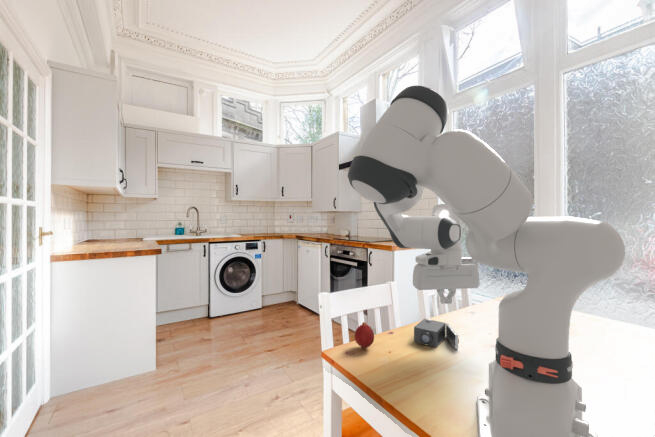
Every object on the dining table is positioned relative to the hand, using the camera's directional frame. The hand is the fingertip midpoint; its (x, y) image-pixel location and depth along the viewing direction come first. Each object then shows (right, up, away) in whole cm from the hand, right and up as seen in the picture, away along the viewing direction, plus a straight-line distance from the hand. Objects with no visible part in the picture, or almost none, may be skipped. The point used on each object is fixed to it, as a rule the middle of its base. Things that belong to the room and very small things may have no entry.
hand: (446, 303), depth 89 cm
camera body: (-3, -13, +5) cm, 14 cm away
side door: (+3, -13, +2) cm, 13 cm away
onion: (-25, -13, -2) cm, 29 cm away
